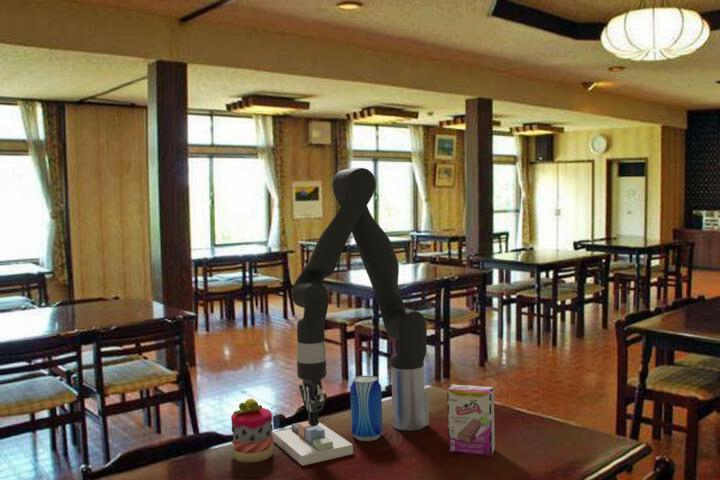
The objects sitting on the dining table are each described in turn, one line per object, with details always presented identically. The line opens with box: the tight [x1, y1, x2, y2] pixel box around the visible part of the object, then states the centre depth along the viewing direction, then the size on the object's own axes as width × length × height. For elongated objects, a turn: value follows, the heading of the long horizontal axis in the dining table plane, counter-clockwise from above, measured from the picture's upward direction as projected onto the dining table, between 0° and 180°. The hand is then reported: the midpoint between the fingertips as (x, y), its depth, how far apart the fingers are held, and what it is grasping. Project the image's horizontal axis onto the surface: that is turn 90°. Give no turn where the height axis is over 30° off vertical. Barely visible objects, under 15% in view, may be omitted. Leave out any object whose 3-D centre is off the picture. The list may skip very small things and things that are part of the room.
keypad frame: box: [272, 422, 354, 466], centre depth 178 cm, size 14×20×2 cm
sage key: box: [313, 437, 333, 451], centre depth 171 cm, size 4×4×4 cm
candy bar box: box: [446, 384, 496, 457], centre depth 170 cm, size 11×5×16 cm, turn 71°
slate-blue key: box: [305, 426, 325, 445], centre depth 176 cm, size 4×4×4 cm
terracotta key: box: [297, 420, 317, 440], centre depth 180 cm, size 4×4×4 cm
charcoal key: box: [291, 421, 301, 434], centre depth 184 cm, size 4×4×4 cm
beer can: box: [349, 375, 384, 442], centre depth 184 cm, size 8×8×16 cm
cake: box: [230, 398, 275, 463], centre depth 174 cm, size 10×11×15 cm
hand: (313, 424), depth 175 cm, fingers closed
